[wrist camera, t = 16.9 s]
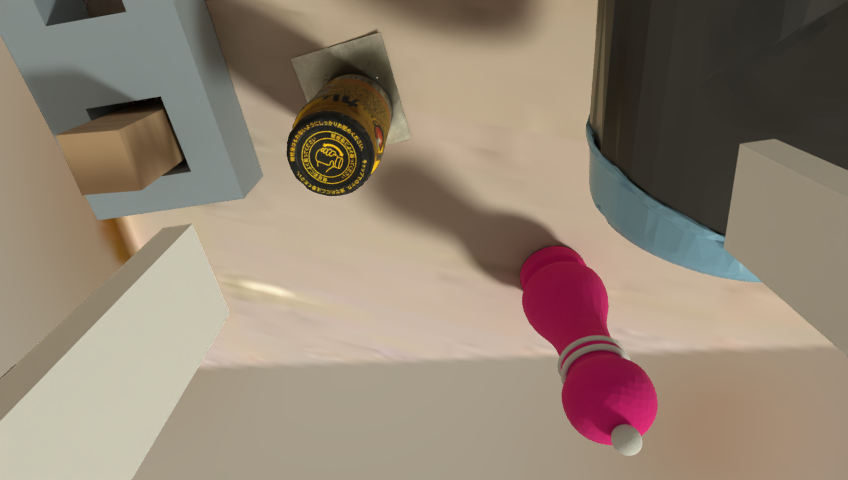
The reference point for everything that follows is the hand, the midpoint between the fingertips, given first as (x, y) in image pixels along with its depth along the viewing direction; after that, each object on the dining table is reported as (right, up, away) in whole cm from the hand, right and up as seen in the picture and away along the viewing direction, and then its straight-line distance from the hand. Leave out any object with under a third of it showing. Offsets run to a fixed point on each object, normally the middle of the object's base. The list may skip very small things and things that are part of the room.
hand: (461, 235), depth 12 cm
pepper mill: (+11, -3, +34) cm, 36 cm away
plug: (-22, +9, +27) cm, 36 cm away
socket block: (-22, +14, +25) cm, 36 cm away
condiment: (-7, +11, +27) cm, 30 cm away
